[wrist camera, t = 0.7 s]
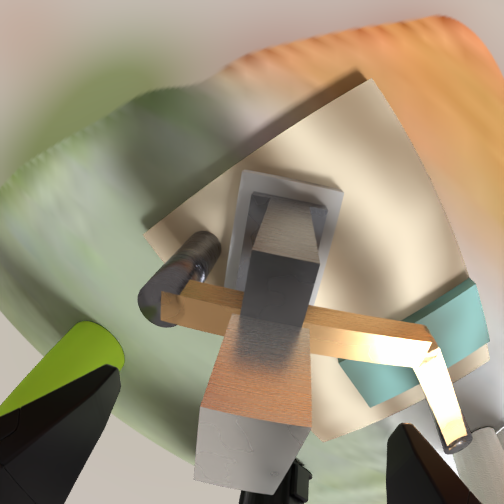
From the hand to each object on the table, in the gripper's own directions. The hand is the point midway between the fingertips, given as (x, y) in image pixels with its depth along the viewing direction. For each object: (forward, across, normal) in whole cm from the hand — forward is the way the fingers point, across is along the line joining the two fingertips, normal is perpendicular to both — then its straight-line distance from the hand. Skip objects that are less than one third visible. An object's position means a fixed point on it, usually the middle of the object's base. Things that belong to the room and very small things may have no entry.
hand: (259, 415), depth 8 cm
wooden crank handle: (+12, -5, +4) cm, 13 cm away
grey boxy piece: (+11, 0, 0) cm, 11 cm away
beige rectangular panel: (+13, -6, +2) cm, 14 cm away
